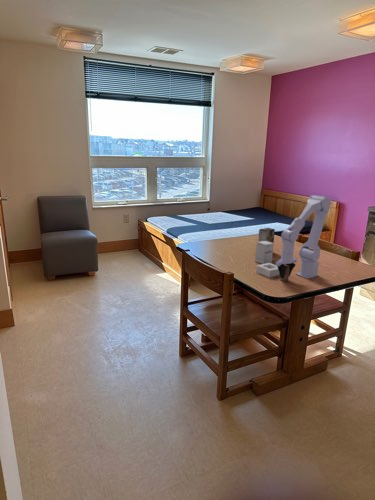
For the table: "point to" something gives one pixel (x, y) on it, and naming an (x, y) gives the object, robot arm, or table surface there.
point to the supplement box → (264, 252)
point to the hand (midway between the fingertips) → (284, 276)
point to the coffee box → (266, 235)
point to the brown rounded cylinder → (286, 274)
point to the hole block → (267, 270)
